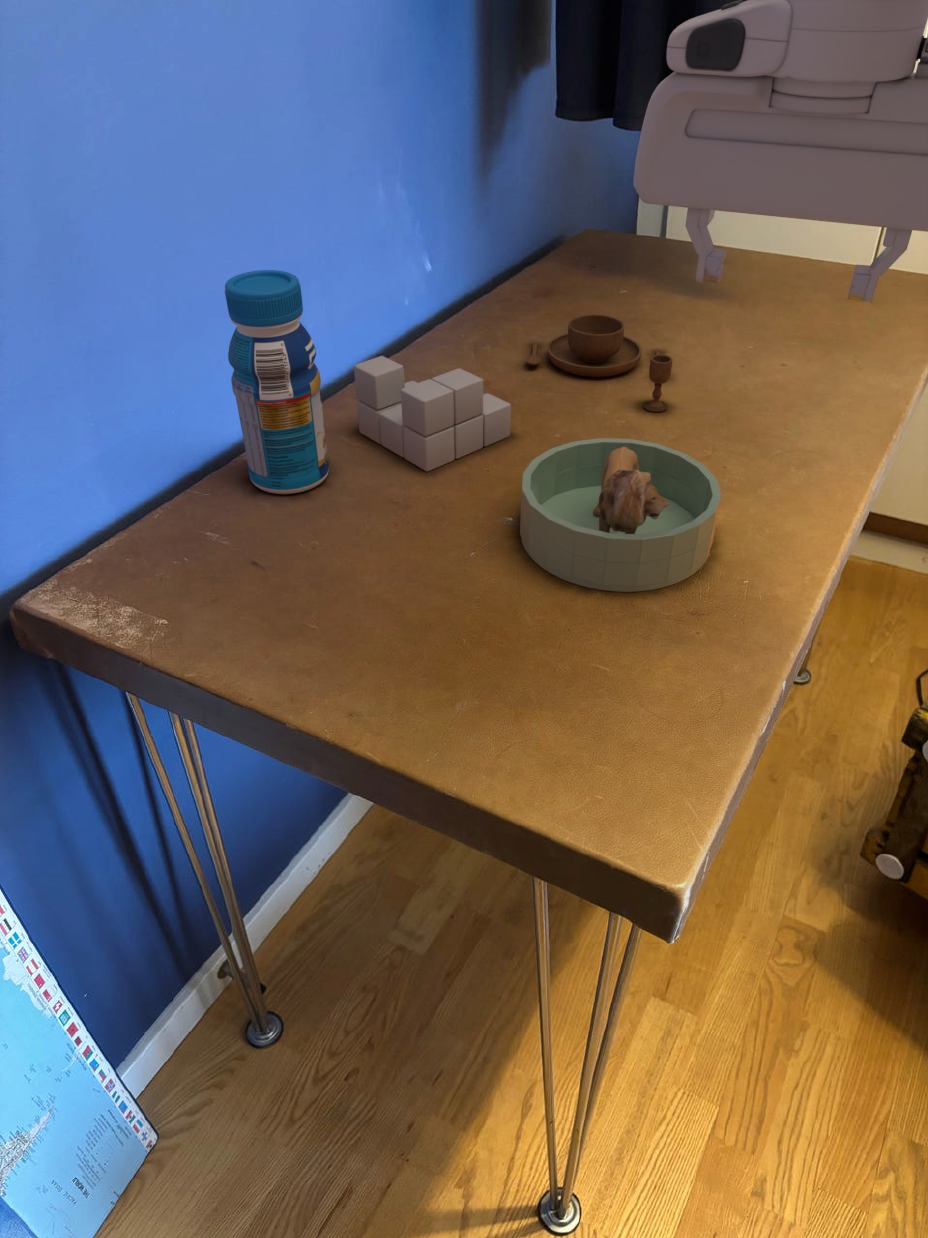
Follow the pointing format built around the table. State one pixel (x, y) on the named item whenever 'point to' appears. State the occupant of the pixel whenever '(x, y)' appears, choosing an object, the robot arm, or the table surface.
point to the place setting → (603, 353)
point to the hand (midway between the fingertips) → (782, 289)
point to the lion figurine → (626, 494)
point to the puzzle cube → (427, 413)
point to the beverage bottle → (276, 383)
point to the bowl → (613, 561)
